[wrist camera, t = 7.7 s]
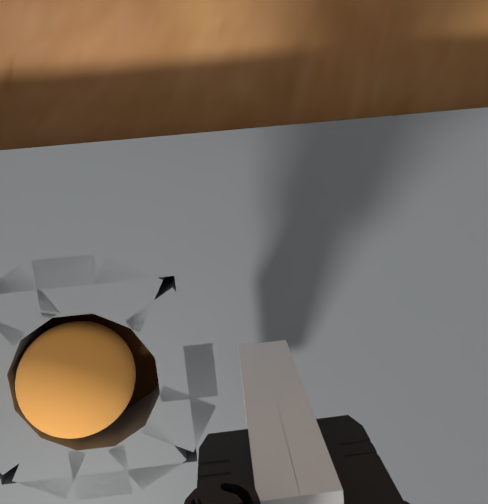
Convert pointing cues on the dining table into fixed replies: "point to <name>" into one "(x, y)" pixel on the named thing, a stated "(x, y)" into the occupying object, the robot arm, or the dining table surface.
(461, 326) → the plate
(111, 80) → the dining table surface
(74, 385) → the ball
